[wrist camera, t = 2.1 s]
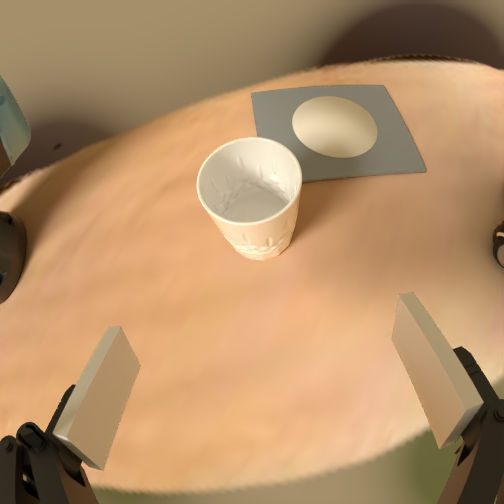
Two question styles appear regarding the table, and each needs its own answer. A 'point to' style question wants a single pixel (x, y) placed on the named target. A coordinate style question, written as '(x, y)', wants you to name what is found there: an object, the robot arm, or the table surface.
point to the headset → (499, 244)
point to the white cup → (252, 194)
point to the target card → (338, 130)
